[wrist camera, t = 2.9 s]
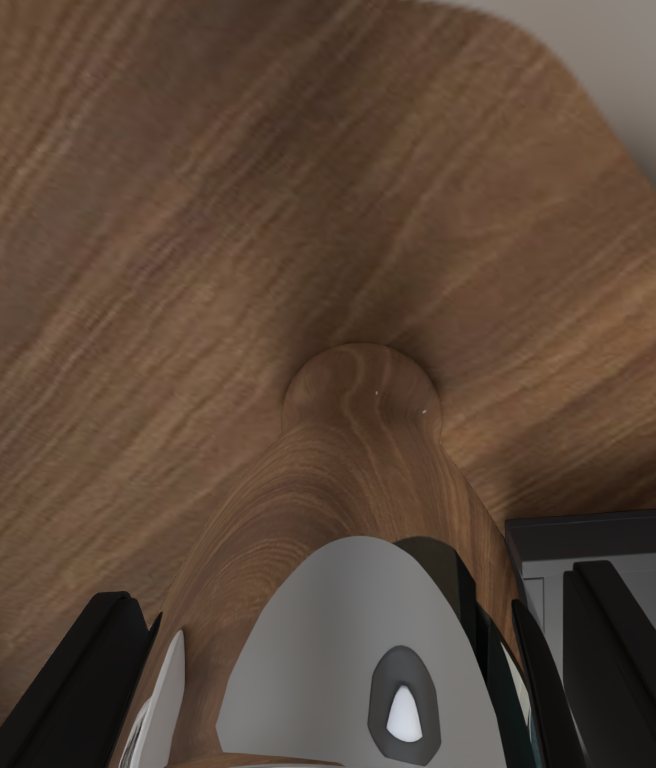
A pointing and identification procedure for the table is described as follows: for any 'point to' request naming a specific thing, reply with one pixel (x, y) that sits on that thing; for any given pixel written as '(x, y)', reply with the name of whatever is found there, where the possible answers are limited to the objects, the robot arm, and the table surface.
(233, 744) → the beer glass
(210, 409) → the table surface
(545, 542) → the desk tray
